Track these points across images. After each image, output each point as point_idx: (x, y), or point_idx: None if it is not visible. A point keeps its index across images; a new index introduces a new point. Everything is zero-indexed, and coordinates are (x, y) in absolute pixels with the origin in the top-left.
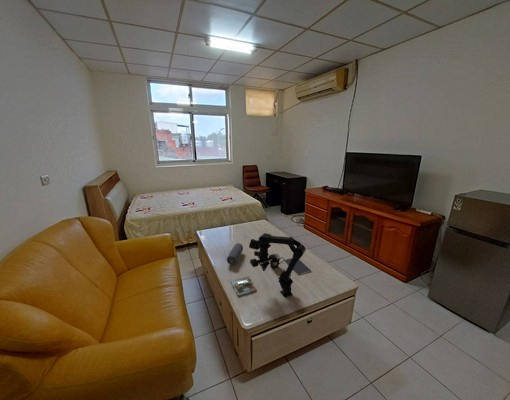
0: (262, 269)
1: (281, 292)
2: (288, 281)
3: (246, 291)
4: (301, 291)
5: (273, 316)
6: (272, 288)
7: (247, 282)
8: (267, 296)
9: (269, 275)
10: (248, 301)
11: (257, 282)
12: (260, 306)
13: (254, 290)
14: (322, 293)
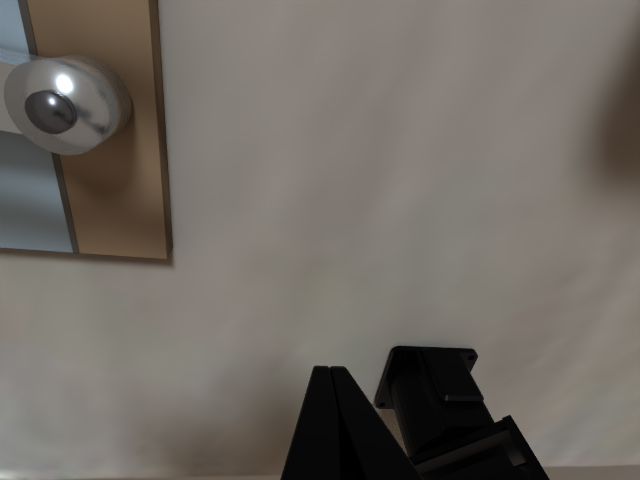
0: (304, 401)
1: (391, 366)
2: (519, 450)
3: (12, 228)
4: (534, 396)
5: (194, 476)
6: (361, 283)
7: (19, 130)
8: (249, 344)
9: (518, 47)
10: (30, 328)
11: (256, 102)
12: (135, 402)
13: (133, 256)
14: (613, 446)
